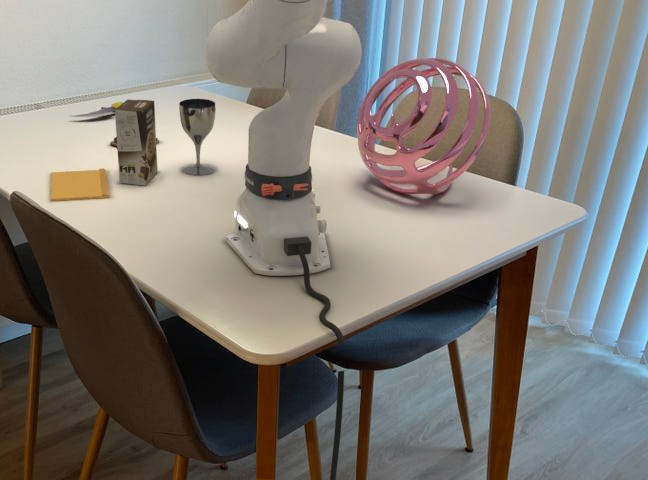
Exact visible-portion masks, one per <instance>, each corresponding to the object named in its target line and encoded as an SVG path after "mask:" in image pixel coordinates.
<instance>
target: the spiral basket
mask: <svg viewBox="0 0 648 480" xmlns="http://www.w3.org/2000/svg"><path fill="white" fill-rule="evenodd" d="M421 66H426V67H429V68H426V69H423V70H417V69H415V68H418V67H421ZM454 75H455V76H459V77H462V78H463V80H464V81H465V84H466V87H467V90H468V94H469V95H468V96H469V97H468V98H469V106H468V112H467V117H466V120H465V123H464V125H463V127H462V130H461V132H460V133H459V136H458V137H457V139H456V140H455V142H454V143H453V145H452V146H451V147H450V148H449V149H448V150H447V152H446V153H445V154H444V155H443V156H441V157H440V158H439V159H438V160H434V161H432V162H429V163H427V164H423V165H421V166H417V167H416V162H417V161H418V160H419V159H421V158H423V157H425V156H426V155H428V153H430V152H431V151H432V150H434V149H435V147H437V145H439V143H440V142H441V141H442V140H443V138H444V137H445V136H446V134H447V133H448V131H449V130H450V128H451V126H452V124H453V122H454V119H455V117H456V114H457V110H458V105H459V88H458V84H457V80H456V78H455V76H454ZM436 76H440V77H441V79H442V81H443V85H444V89H445V102H444V107H443V110H442V113H441V115H440V116H439V117H440V118H439V120H438V122H437V123H436V124H435V126H434V128H433V129H432V130H431V132H430V133H429V134H428V135H427V136H426V137H425V138H424V139H423V140H422V141H420V142H419V143H418V144H416V145H415V146H414V147H412V148H408V147H406V145H405V143H404V138H405V137H406V136H407V135H409V134H410V133H412V132H413V131H414V130H415V129H416V128H417V127H418V126H420V124H421V123H422V121H423V120H424V119H425V117H426V115H427V113H428V111H429V109H430V106H431V101H432V86H431V82H430V80H429V78H431V77H436ZM402 78H403V79H404V80H403V81H402V82H400V83H398V85H396V87H395V86H394V88H393V89H392V90H391V91H390V92H389V94H388V95H387V96H386V97H385V98H384V99H383V100H382V102H381V104H379V107H378V108H377V110H376V112H375V113H374V114H372V109H373V107H374V104H375V102H376V101H377V100H378V98H379V97H380V96H381V94H382V93H383V91H385V89H386V88H388V86H389V85H390V84H391V83H393V82H394V81H395V80H396V79H402ZM414 85H415V86H416V89H417V101H416V104H415V106H414V108H413V110H412V112H410V114H409V115H408V117H407V118H406V119H405V120H403V121H402V122H401V123H398V122H397V120H396V117H395V115H394V113H391V118H390V119H391V121H390V123H391V124H390V127H382V126H381V123H382V121H383V119H384V117H385V116H386V114H387V112H388V111H389V109H390V108H391V106H392V105H393V104H394V103H395V102H396V100H397V99H398V98H399V97H400V96H401V95H402V94H404V93H405V92H406V91H407V90H408V89H410V88H411V87H413V86H414ZM479 93H480V95H481V97H482V101H483V106H484V115H483V116H484V117H483V123H482V128H481V132H480V134H479V137H478V139H477V142H476V143H475V145H474V146H473V149H472V150H471V152H470V153H469V155H468V156H467V158H465V160H463V162H462V163H461V164H460V165H459V167H457V168H456V169H455V170H454V171H453V164H452V163H453V162H454V161H455V160H457V158H458V157H459V156H460V155H461V153H462V152H463V150H464V149H465V148H466V146H467V144H468V143H469V142H470V139H471V137H472V136H473V134H474V130H475V128H476V126H477V122H478V118H479V111H480V98H479ZM491 111H492V110H491V103H490V100H489V97H488V94H487V91H486V90H485V88H484V86H483V84H481V82H480V80H478V79H477V78H476V77H475V76H474V75H473V74H472V73H470V72H468V70H466V69H465V68H464V67H463V66H462V65H460V64H458V63H456V62H454V61H452V60H449V59H445V58H439V57H428V58H427V57H426V58H413V59H410V60H406V61H402V62H401V63H398V64H396V65H395V66H393V67H391V68H390V69H388V70H387V71H386V72H384V73H383V74H382V75H381V76H379V78H378V79H376V81H375V82H374V83H373V84H372V85H371V86H370V88H369V89H368V91H367V92H366V94H365V96H364V98H363V100H362V102H361V104H360V107H359V109H358V114H357V119H356V136H357V145H358V152H359V155H360V157H361V160H362V162H363V164H364V165H365V167H366V169H368V171H369V172H370V173H371V174H372V175H373V176H374V177H375V178H376V180H378V181H379V182H380V183H381V184H383V185H384V187H386V188H388V189H390V190H392V191H394V192H396V193H400V194H404V195H413V196H414V195H415V196H417V195H438V194H442V193H443V192H445V191H446V190H447V189H448V188H449V187H450V185H451V184H452V183H453V182H454V181H455V180H457V179H458V178H459V177H461V176H462V175H463V174H464V173H465V172H466V171H467V170H468V169H469V168H470V167H471V166H472V165H473V163H474V162H475V160H476V159H477V158H478V156H479V154H480V153H481V151H482V149H483V147H484V145H485V143H486V141H487V138H488V134H489V130H490V127H491V118H492V117H491V116H492V114H491ZM376 140H378V141H382V142H392V143H393V144H394V146H395V148H396V152H395V153H394V154H393V153H392V154H384V153H381V152H378V151H376V150H375V149H376V148H375V147H376ZM379 165H381V166H385V167H400V168H402V169H387V168H383V167H380V166H379ZM446 168H448V170H447V174H446V177H445V178H443V179H441V180H439V181H438V182H433V183H430V182H428V181H429V180H430V179H431V178H433V177H434V176H437V175H438V174H439V173H441V172H443V171H444V170H445V169H446ZM395 185H397V186H395ZM398 186H413V187H415V188H402V187H398Z"/></svg>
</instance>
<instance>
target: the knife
mask: <svg viewBox="0 0 648 480" xmlns="http://www.w3.org/2000/svg"><path fill="white" fill-rule="evenodd" d="M123 103H124V101H121V100H120V101H116V102H113V103H112V104H110V105H111V106H109V107H107V106H106V107H105V106H101V107H100V109H99V110H96V111H92V112H88V113H83V114H76V115H69V117H71V118H95V117H103V116H110V115H113V114H114V115H115V109H116V108H118V107H119V106H120V105H121V104H123Z"/></svg>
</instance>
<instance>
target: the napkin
mask: <svg viewBox="0 0 648 480" xmlns="http://www.w3.org/2000/svg"><path fill="white" fill-rule="evenodd" d="M50 185H51V186H50V201H51V202H57V201H59V202H60V201H74V200H90V199H109V198H110V192H109V185H108V178H107V170H106V168H99V169H92V170H90V169H89V170H72V171H71V170H69V171H55V172H54V171H53V172H51V181H50Z"/></svg>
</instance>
